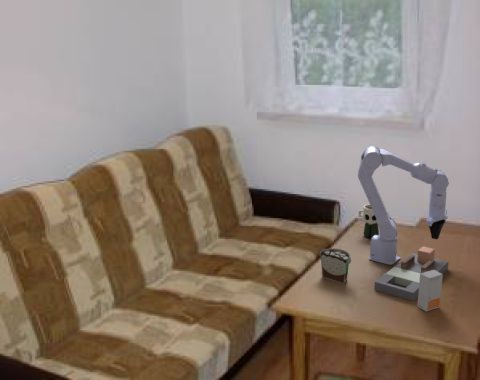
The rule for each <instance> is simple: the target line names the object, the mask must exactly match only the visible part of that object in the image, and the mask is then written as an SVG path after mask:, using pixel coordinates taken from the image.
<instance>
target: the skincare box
mask: <svg viewBox="0 0 480 380" xmlns="http://www.w3.org/2000/svg"><path fill="white" fill-rule="evenodd" d="M443 276H444V273H443V274H441V273H439V272H437V271H435V270H431V271H427V272H424V273H421V274H420V281H419V294H418V297H417V308H419V309H421V310H423V311H425V312H429V311H432V310H436V309H440V308H441V301H442V300H441V299H442V298H441V296H442V290H443V289H442V288H443Z"/></svg>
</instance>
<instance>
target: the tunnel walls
mask: <svg viewBox="0 0 480 380" xmlns="http://www.w3.org/2000/svg"><path fill="white" fill-rule="evenodd" d="M409 255H410V254H409ZM409 255H408V256H407V258H406V257H405V258H406V259H405V258H404V259H405V260H404V259H403V260H401V261H402V262H401V261H400V262H401V269H406V268H407V267H409V266H410V265H411V264H412V263H414V261H415V255H410V256H409ZM434 262H435V260H429V261H428V262H427V263H426V264H424V265H423V266H422V267H421V273H424V272H427V271H430V270H431V269H432V268H433V267H434Z"/></svg>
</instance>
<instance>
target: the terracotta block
mask: <svg viewBox="0 0 480 380" xmlns="http://www.w3.org/2000/svg"><path fill="white" fill-rule="evenodd" d="M435 251H436V249H435V248H432V247H428V246H421V247H420V248H419V249H418V250H417V254H418V257H417V262H421V263H425V264H426V263H427V262H428V261H429V260H434V258H435Z"/></svg>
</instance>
